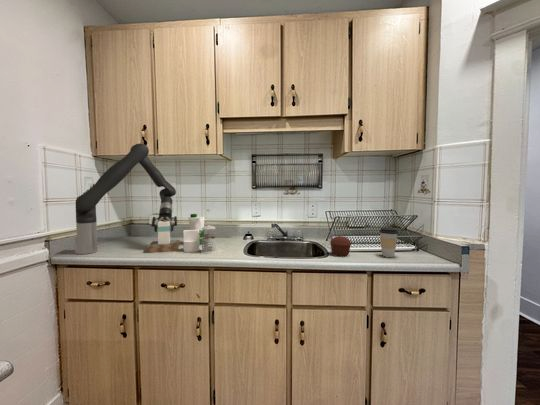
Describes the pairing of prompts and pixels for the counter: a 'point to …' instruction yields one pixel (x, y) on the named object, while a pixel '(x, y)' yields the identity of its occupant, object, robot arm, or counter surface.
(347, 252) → the muffin
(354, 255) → the counter surface
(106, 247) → the counter surface
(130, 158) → the robot arm
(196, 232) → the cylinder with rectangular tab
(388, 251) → the coffee cup
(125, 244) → the counter surface
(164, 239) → the cream carton
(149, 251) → the brown shallow square tray
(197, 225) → the milk carton
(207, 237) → the french press
